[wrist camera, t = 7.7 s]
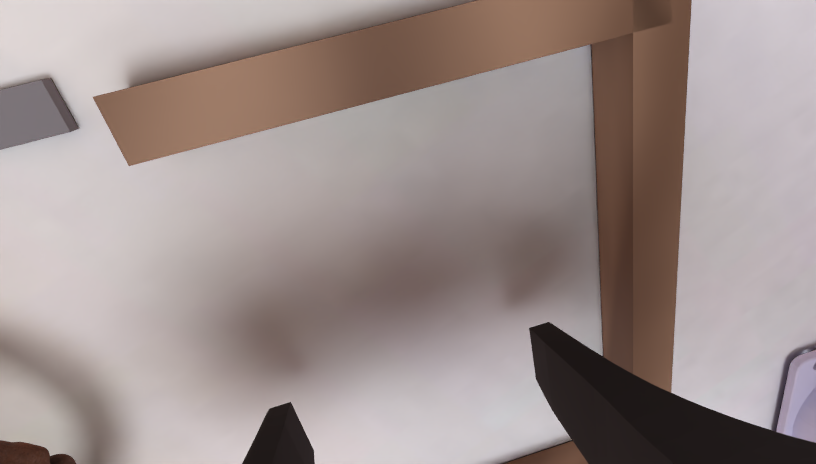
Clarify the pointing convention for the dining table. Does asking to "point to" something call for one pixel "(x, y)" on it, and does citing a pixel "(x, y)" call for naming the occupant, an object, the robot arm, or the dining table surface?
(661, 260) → the walnut holder
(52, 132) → the grey open frame
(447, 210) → the dining table surface
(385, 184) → the dining table surface
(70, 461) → the pottery mug
